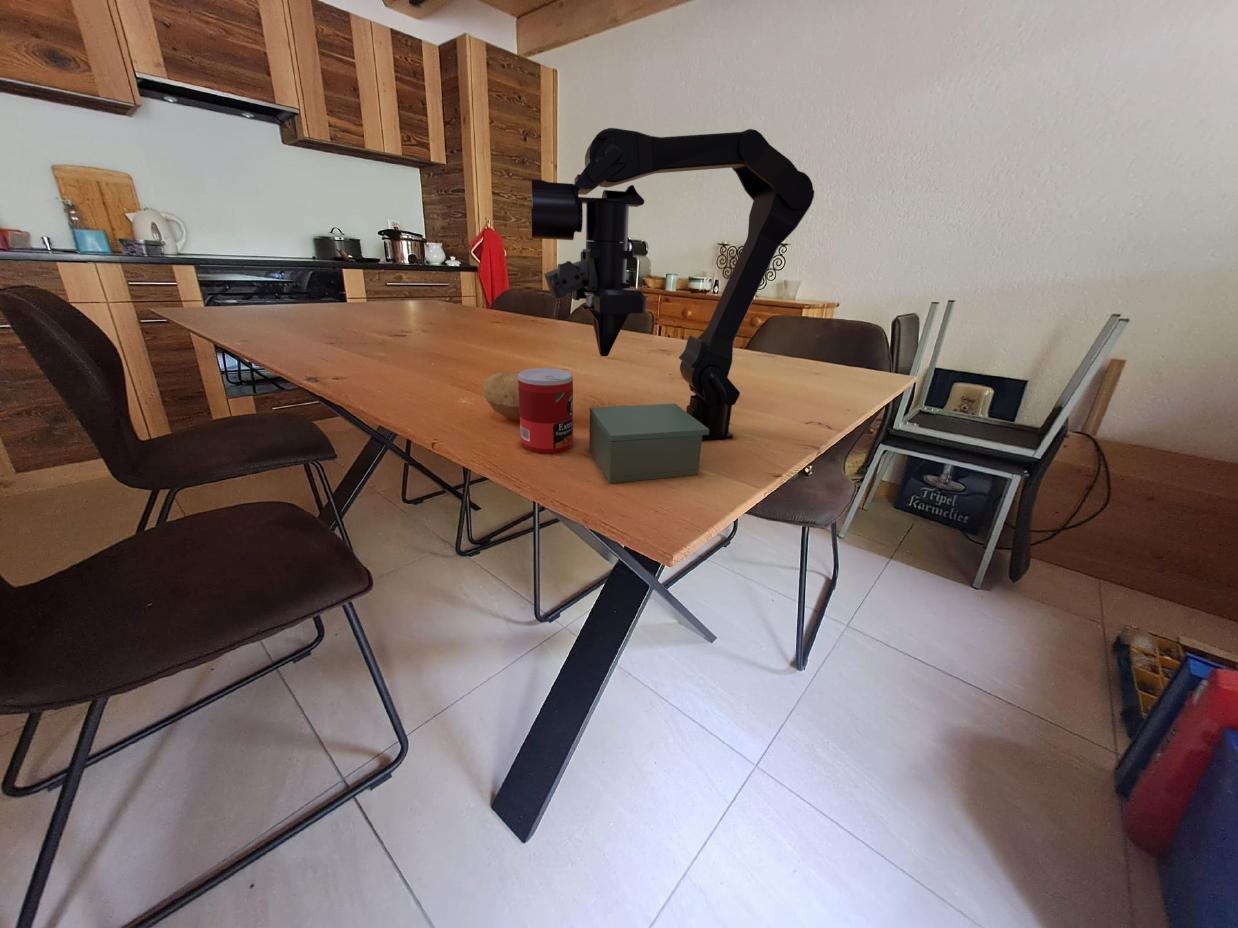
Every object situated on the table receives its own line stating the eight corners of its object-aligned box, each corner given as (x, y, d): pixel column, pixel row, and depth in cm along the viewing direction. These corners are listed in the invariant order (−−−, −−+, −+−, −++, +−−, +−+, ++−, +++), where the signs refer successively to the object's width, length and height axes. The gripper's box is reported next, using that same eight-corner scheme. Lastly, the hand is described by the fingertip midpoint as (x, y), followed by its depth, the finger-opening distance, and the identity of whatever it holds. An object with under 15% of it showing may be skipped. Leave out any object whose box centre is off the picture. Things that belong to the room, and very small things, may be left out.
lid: (674, 408, 73) (675, 403, 72) (708, 435, 62) (709, 429, 62) (589, 412, 69) (589, 407, 68) (611, 441, 59) (611, 435, 58)
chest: (666, 443, 75) (669, 408, 72) (697, 474, 65) (702, 435, 62) (589, 449, 71) (589, 413, 69) (609, 483, 61) (611, 442, 59)
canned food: (564, 457, 68) (563, 382, 64) (512, 450, 70) (508, 377, 65) (579, 438, 75) (579, 370, 71) (531, 433, 76) (529, 366, 72)
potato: (555, 433, 77) (554, 385, 73) (475, 424, 79) (471, 377, 76) (573, 415, 85) (573, 372, 82) (500, 407, 88) (498, 365, 85)
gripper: (538, 240, 71) (541, 345, 77) (560, 238, 54) (562, 372, 61) (610, 243, 74) (607, 344, 80) (650, 243, 58) (643, 369, 64)
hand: (603, 355), depth 71 cm, fingers closed
